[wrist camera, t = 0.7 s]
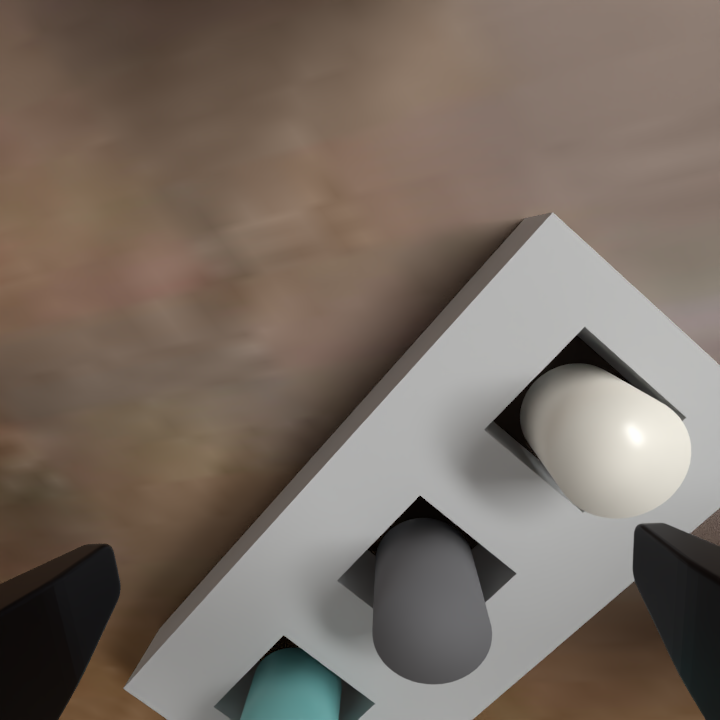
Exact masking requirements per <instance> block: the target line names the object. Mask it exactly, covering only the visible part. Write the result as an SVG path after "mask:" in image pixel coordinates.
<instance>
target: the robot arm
mask: <svg viewBox="0 0 720 720" xmlns="http://www.w3.org/2000/svg"><path fill="white" fill-rule="evenodd" d="M633 576H634V580H635V583H636V585H637V587H638V590H639V592H640V594H641V596H642V598H643V600H644V602H645V604H646V606H647V609H648V611H649V613H650V615H651V617H652V619H653V621H654V623H655V625H656V628H657V630H658V632H659V634H660V636H661V638H662V640H663V642H664V644H665V647H666V649H667V651H668V653H669V655H670V657H671V659H672V661H673V663H674V665H675V667H676V669H677V671H678V673H679V675H680V677H681V679H682V680H683V682H684V684H685V686H686V687H687V689H688V691H689V693H690V694H691V696H692V698H693V699H694V701H695V703H696V704H697V706H698V708H699V709H700V711H701V713H702V714H703V716H704V718H705V719H706V720H720V546H718V545H715V544H713V543H710V542H708V541H706V540H703V539H701V538H699V537H696V536H694V535H692V534H689V533H687V532H685V531H682V530H680V529H677V528H675V527H673V526H670V525H668V524H665V523H641V524H638V525H637V526H636V527H635V530H634V543H633ZM119 595H120V579H119V574H118V570H117V565H116V560H115V556H114V552H113V549H112V547H111V546H110V545H108V544H88V545H84V546H81V547H79V548H77V549H75V550H73V551H71V552H69V553H66V554H64V555H62V556H60V557H58V558H56V559H53V560H51V561H49V562H47V563H45V564H43V565H41V566H38V567H36V568H34V569H32V570H30V571H28V572H25V573H23V574H21V575H19V576H17V577H15V578H13V579H10V580H8V581H6V582H4V583H2V584H0V720H58V719H59V717H60V716H61V714H62V712H63V710H64V709H65V707H66V705H67V704H68V702H69V700H70V698H71V696H72V695H73V693H74V691H75V689H76V687H77V686H78V684H79V682H80V679H81V677H82V675H83V674H84V672H85V670H86V667H87V665H88V663H89V661H90V659H91V657H92V655H93V652H94V650H95V648H96V646H97V644H98V642H99V640H100V637H101V635H102V633H103V631H104V629H105V627H106V625H107V623H108V620H109V618H110V616H111V614H112V612H113V610H114V608H115V605H116V603H117V601H118V598H119Z"/></svg>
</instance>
